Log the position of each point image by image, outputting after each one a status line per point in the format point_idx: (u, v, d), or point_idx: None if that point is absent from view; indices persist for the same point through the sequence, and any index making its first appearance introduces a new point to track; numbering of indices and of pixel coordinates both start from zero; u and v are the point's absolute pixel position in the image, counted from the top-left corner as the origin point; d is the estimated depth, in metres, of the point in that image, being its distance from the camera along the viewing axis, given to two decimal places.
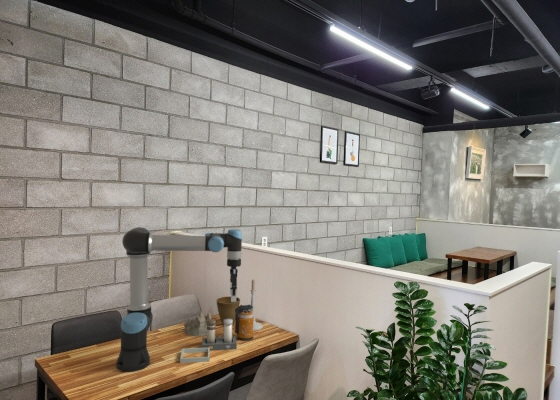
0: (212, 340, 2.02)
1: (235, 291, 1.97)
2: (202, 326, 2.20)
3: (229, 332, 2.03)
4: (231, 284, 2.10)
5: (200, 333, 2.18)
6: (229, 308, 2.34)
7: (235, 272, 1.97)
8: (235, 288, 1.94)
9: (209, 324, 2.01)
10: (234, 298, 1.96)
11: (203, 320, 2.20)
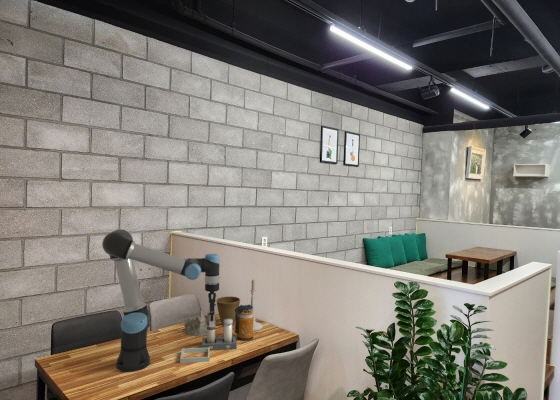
0: (212, 340, 2.02)
1: (213, 316, 1.96)
2: (202, 326, 2.20)
3: (229, 332, 2.03)
4: None
5: (200, 333, 2.18)
6: (229, 308, 2.34)
7: (213, 297, 1.96)
8: (213, 314, 1.93)
9: None
10: (212, 323, 1.96)
11: (203, 320, 2.21)
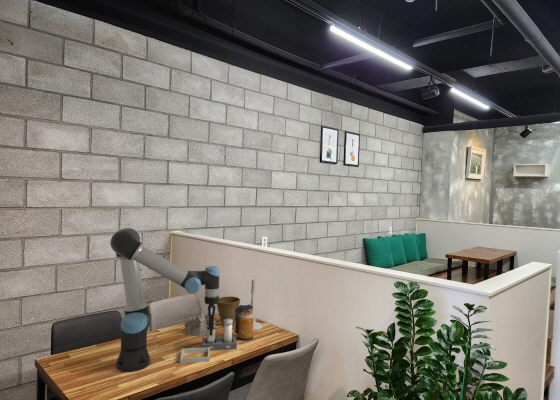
0: None
1: (212, 331, 2.01)
2: (202, 325, 2.21)
3: (229, 332, 2.03)
4: None
5: (200, 332, 2.19)
6: (229, 308, 2.34)
7: (212, 313, 1.97)
8: (212, 328, 1.98)
9: None
10: (211, 337, 2.01)
11: (203, 319, 2.21)
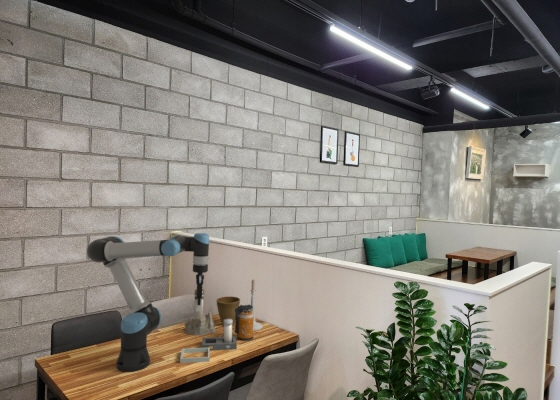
0: None
1: None
2: (203, 325, 2.22)
3: (229, 332, 2.03)
4: None
5: (201, 332, 2.20)
6: (229, 308, 2.34)
7: (201, 282, 1.86)
8: (200, 297, 1.87)
9: None
10: (199, 308, 1.90)
11: (204, 319, 2.22)
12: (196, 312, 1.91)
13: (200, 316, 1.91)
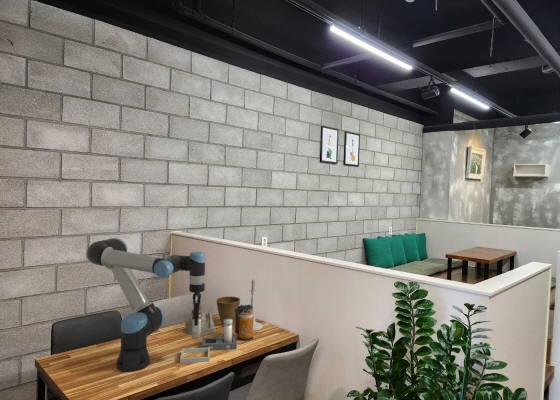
0: None
1: None
2: (203, 325, 2.22)
3: (229, 332, 2.03)
4: None
5: (201, 332, 2.20)
6: (229, 308, 2.34)
7: (197, 302, 1.84)
8: (197, 318, 1.84)
9: None
10: (197, 328, 1.87)
11: (204, 319, 2.22)
12: (194, 332, 1.88)
13: (198, 336, 1.89)
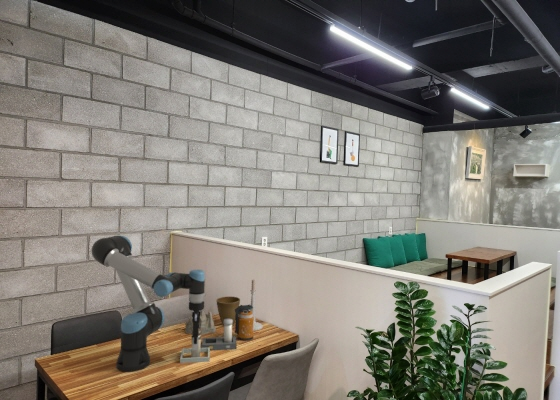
0: (197, 351, 1.89)
1: (197, 339, 1.86)
2: (203, 324, 2.23)
3: (229, 332, 2.03)
4: None
5: None
6: (229, 308, 2.34)
7: (196, 319, 1.84)
8: (196, 336, 1.83)
9: None
10: (196, 346, 1.86)
11: (204, 318, 2.23)
12: (193, 352, 1.88)
13: (197, 356, 1.89)
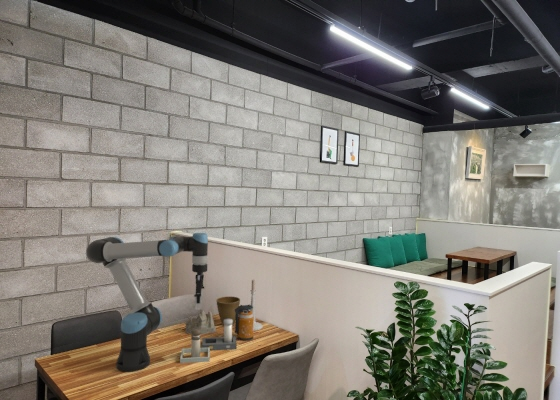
0: (197, 351, 1.89)
1: (200, 298, 1.85)
2: (204, 324, 2.23)
3: (229, 332, 2.03)
4: None
5: (202, 331, 2.21)
6: (229, 308, 2.34)
7: (199, 278, 1.85)
8: (199, 295, 1.82)
9: (193, 334, 1.88)
10: (199, 306, 1.85)
11: (204, 318, 2.23)
12: (193, 352, 1.88)
13: (197, 356, 1.89)
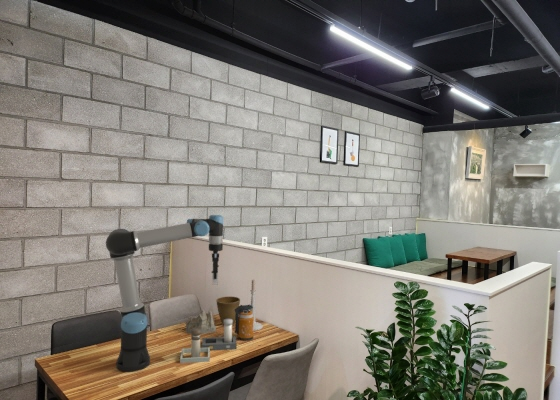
0: (197, 351, 1.89)
1: None
2: (204, 324, 2.24)
3: (229, 332, 2.03)
4: None
5: (202, 331, 2.22)
6: (229, 308, 2.34)
7: (216, 256, 2.01)
8: (216, 271, 1.98)
9: (193, 334, 1.88)
10: (215, 281, 2.01)
11: (205, 318, 2.24)
12: (193, 352, 1.88)
13: (197, 356, 1.89)
